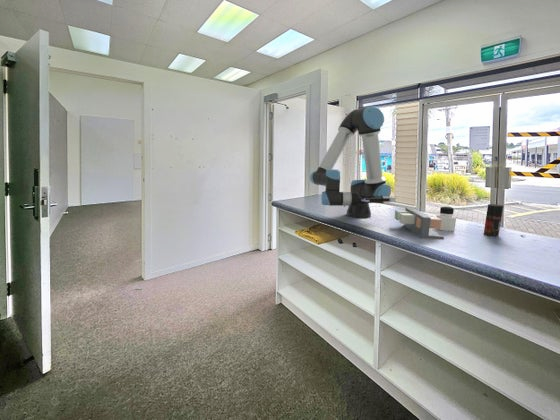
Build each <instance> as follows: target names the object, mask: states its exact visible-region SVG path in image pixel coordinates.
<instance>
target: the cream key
mask: <svg viewBox="0 0 560 420" xmlns="http://www.w3.org/2000/svg"><path fill="white" fill-rule="evenodd" d="M415 217H416V215H415V214H409V213H400V219H399V220H398V221H399V223H400V224H402V225H404V224H415Z"/></svg>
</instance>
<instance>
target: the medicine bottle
mask: <svg viewBox="0 0 560 420" xmlns="http://www.w3.org/2000/svg"><path fill="white" fill-rule="evenodd" d="M439 210H440V211H439V214H436V217H437V218H439V219H442V220H441V228H440V229H438V230H439V231H444V232H445V231H447V232H455V228H456V223H457V222H456V221H457V217H455V216H454V212H455V211H454V210H455V209H454V207H452V206H445V205H444V206H440V209H439Z"/></svg>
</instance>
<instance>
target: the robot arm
mask: <svg viewBox="0 0 560 420" xmlns="http://www.w3.org/2000/svg"><path fill="white" fill-rule="evenodd" d="M384 122H385V115H384V112H383V111H382V109H380V107H377V106H367V107H362V108H357V109H354V110H351V111H350V112H349V113H348V114H347V115H346V116H345V117H344V119H343V120H342V122H341V123H340V125H339V127H338V128H337V130H338V132H337V133H336V135H335V137H334V139H333V140H332V143H331V144H330V146H329V148H328V149H327V152H326V153H325V155H324V156H323V159H322V160H321V162H320V164H319V165H318V168H317V169H316V170H315V171H312V172H311V173H310V174H309V180H310V182H311V184H313V185H315V186H323V187H325V191H322V192H321V197H320V200H321V205H323V206H331V207H332V206H333V207H334V206H335V207H336V206H340V207H341V206H343V207H344V208H346V207H347V206H348V207H347V210H346V216H348V217H351V218H357V219H365V218H370V217H372V212H371V208H370V204H384V203H396V199H397V197H396V196H392V195H391V193H392V187H391V186H390V184H388V183H387V182H386V178H385V177H384V176H383V170H382V169H383V168H382V161H381V160H382V159H381V148H380V140H379V134H380V132H381V128H382V126H383V125H384ZM356 132H357V133H358V135H359V136H360V137H361V142H362V149H363V150H362V151H363V156H364V166H365V175H366V179H365V178H364V179H353V180H352V181H350V190H349V191H340V189H341V187H340V186H341V171H340V169H334V168H335V165H336V164H337V162H338V160H339V159H340V157H341V155H342V153H343V151H344V149H345V148H346V145H347V144H348V142H349V140H350V138H353V136H354V134H355V133H356Z"/></svg>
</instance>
